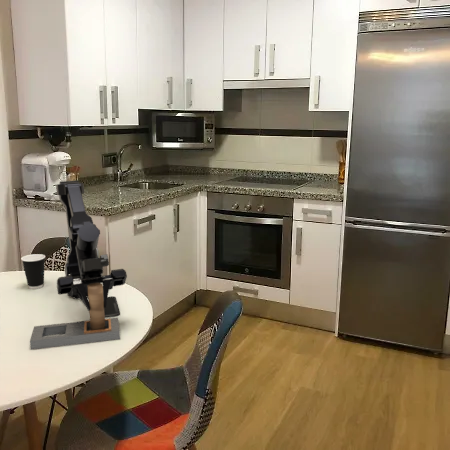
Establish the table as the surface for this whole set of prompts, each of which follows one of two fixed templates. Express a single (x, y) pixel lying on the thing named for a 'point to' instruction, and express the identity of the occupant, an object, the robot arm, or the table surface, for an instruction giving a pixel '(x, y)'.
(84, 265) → the robot arm
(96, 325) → the peg
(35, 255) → the dixie cup
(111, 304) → the phone
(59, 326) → the plate with square holes
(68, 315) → the table surface
